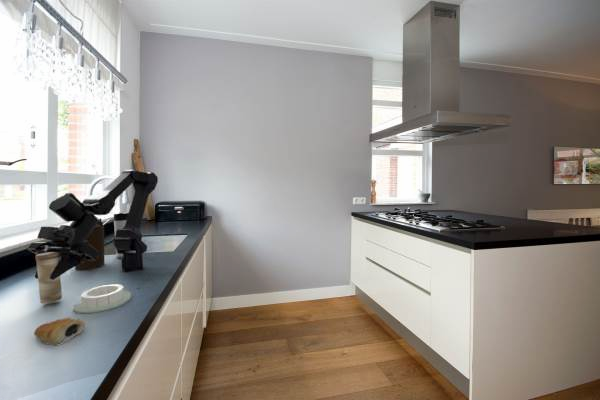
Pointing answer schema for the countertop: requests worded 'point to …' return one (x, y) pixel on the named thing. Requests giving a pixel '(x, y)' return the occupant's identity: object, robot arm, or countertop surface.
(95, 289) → the holder
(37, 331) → the pastry
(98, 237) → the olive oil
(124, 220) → the travel mug
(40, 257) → the canister
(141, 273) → the countertop surface
